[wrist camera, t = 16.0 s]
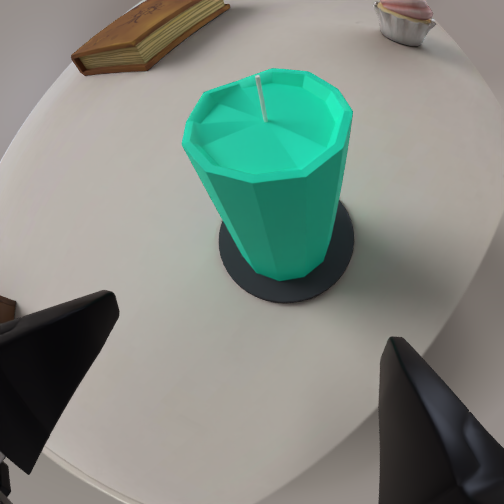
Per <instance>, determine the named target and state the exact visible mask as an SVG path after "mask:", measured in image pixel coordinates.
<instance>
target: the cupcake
mask: <svg viewBox="0 0 504 504" xmlns="http://www.w3.org/2000/svg"><path fill="white" fill-rule="evenodd" d="M380 1H381V2H374V3H375V5H373V7H374V9H375V11H376V13H377V15H378V18H379V24H380V29H381V32H382V34H383V35H384V36H386V37H387V38H389V39H391V40H393V41H395V42H398V43H401V44H405V45H409V46H419V45H420V44H421V43H422V42H423V40H424V38H425V36H426V35H427V33H428V31H429V30H430V29H432V28H433V27H434V26H435V25H436V23H435V22H434V19H433V18H432V16H433V12H432V10H431V9H430V7H429V6H428V5H427V1H426V0H380Z"/></svg>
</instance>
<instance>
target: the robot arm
mask: <svg viewBox="0 0 504 504" xmlns="http://www.w3.org/2000/svg"><path fill="white" fill-rule="evenodd" d="M118 318H119V308H118V304H117V300H116V296H115V294H114V293H113V292H111V291H107V290H102V291H99V292H96V293H93V294H89V295H86V296H83V297H80V298H77V299H74V300H71V301H68V302H65V303H62V304H59V305H56V306H53V307H50V308H47V309H44V310H41V311H38V312H35V313H32V314H29V315H26V316H23V317H20V318H17V319H14V320H11V321H8V322H5V323H2V324H0V504H13V503H11V501H10V500H9V499H8V498H7V497H8V495H9V494H10V492H11V487H10V479H9V469H8V466H7V464H6V463H4V461H3V460H4V459H5V457H7V458H8V459H10V460H11V461H12V462H13V463H14V464H15V465H17V466H18V467H19V468H20V469H22V470H23V471H24V472H25V473H27V474H28V475H29V474H30V473H31V471H32V469H33V467H34V465H35V463H36V461H37V459H38V457H39V455H40V453H41V451H42V449H43V447H44V446H45V444H46V442H47V440H48V438H49V436H50V434H51V432H52V430H53V429H54V427H55V425H56V423H57V421H58V420H59V418H60V416H61V414H62V413H63V411H64V409H65V407H66V406H67V404H68V402H69V401H70V399H71V397H72V396H73V394H74V392H75V391H76V389H77V387H78V386H79V384H80V382H81V381H82V379H83V378H84V376H85V374H86V373H87V371H88V370H89V368H90V367H91V365H92V363H93V362H94V360H95V359H96V357H97V356H98V354H99V353H100V351H101V349H102V347H103V346H104V344H105V342H106V340H107V338H108V336H109V334H110V332H111V331H112V329H113V327H114V325H115V323H116V321H117V320H118ZM378 408H379V431H380V432H379V433H380V483H379V504H504V448H503V447H502V446H501V445H500V444H499V443H498V442H497V441H496V440H495V439H494V438H493V437H492V436H491V435H490V434H489V433H488V432H487V431H486V430H485V428H484V427H483V426H482V425H481V424H480V422H479V421H478V420H477V419H476V418H475V417H474V415H473V414H472V413H471V412H469V410H468V409H467V407H466V406H465V405H464V404H463V403H462V402H461V400H460V399H459V398H458V397H457V396H456V395H455V394H454V392H453V391H452V390H451V389H450V388H449V387H448V386H447V385H446V383H445V382H444V381H443V380H442V379H441V378H440V377H439V376H438V375H437V373H436V372H435V371H434V370H433V369H432V368H431V367H430V366H429V365H428V364H427V362H426V361H425V360H424V359H423V358H422V357H421V356H420V355H419V354H418V353H417V352H416V351H415V350H414V349H413V347H412V346H411V345H410V344H409V343H408V342H407V341H406V340H405V339H404V338H402V337H390V338H389V339H388V341H387V344H386V346H385V349H384V351H383V354H382V356H381V360H380V384H379V407H378Z"/></svg>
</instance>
